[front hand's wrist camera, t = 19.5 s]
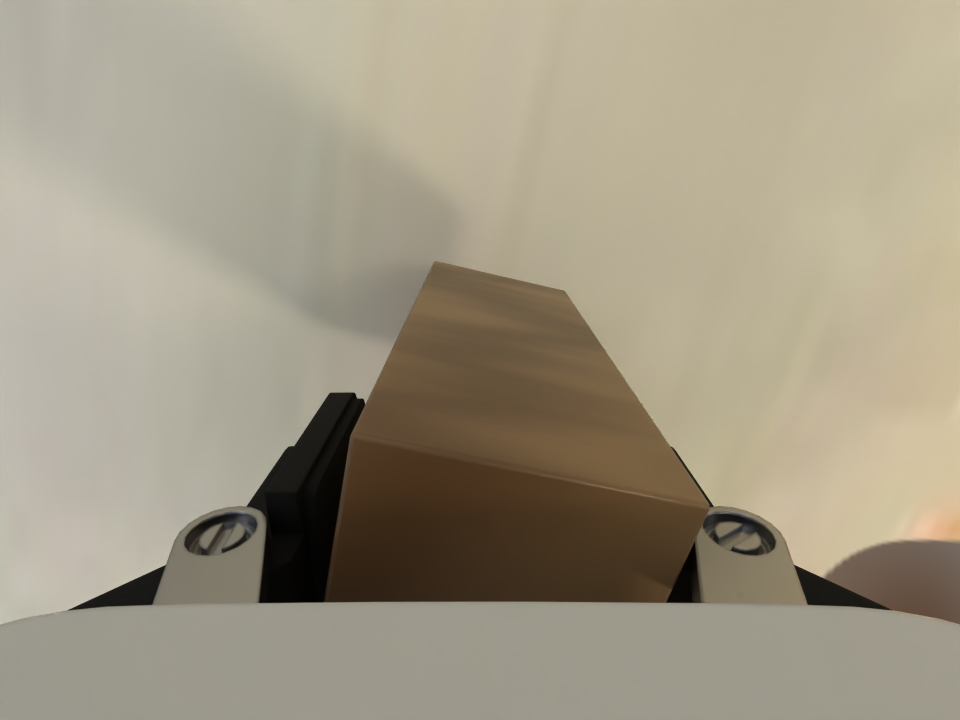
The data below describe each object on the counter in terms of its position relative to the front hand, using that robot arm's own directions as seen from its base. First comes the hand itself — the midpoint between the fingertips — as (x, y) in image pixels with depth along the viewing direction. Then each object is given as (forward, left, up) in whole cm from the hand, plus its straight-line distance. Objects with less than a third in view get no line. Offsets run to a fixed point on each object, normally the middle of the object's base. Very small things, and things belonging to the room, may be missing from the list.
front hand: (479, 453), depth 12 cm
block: (0, 0, -7) cm, 7 cm away
